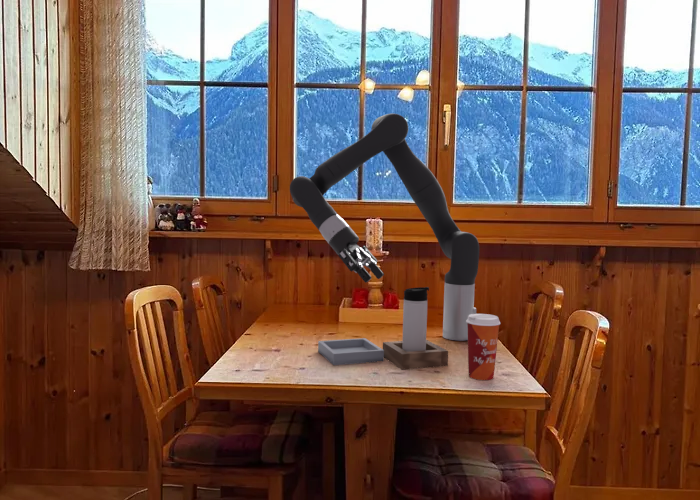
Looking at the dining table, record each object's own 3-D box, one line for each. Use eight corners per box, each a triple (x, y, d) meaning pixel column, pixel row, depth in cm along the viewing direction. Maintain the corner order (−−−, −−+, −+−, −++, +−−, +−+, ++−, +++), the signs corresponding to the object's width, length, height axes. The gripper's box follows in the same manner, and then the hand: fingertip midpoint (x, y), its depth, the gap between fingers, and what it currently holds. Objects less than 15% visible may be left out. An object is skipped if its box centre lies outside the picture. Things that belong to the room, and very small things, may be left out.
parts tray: (364, 348, 171) (365, 338, 171) (383, 361, 158) (384, 350, 158) (318, 351, 167) (318, 341, 167) (333, 365, 154) (333, 353, 153)
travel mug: (425, 365, 155) (428, 289, 154) (400, 363, 157) (402, 288, 155) (427, 359, 162) (430, 285, 160) (403, 357, 163) (405, 284, 161)
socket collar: (425, 353, 167) (425, 339, 167) (447, 366, 155) (448, 350, 155) (382, 356, 163) (382, 342, 163) (402, 369, 151) (402, 354, 150)
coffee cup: (478, 383, 141) (481, 321, 140) (457, 374, 148) (459, 314, 147) (505, 379, 145) (508, 318, 143) (483, 370, 152) (485, 312, 151)
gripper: (335, 226, 158) (374, 272, 155) (358, 224, 171) (394, 267, 167) (317, 245, 161) (355, 290, 157) (341, 242, 174) (376, 284, 170)
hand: (375, 278), depth 162 cm, fingers open, 8 cm apart
